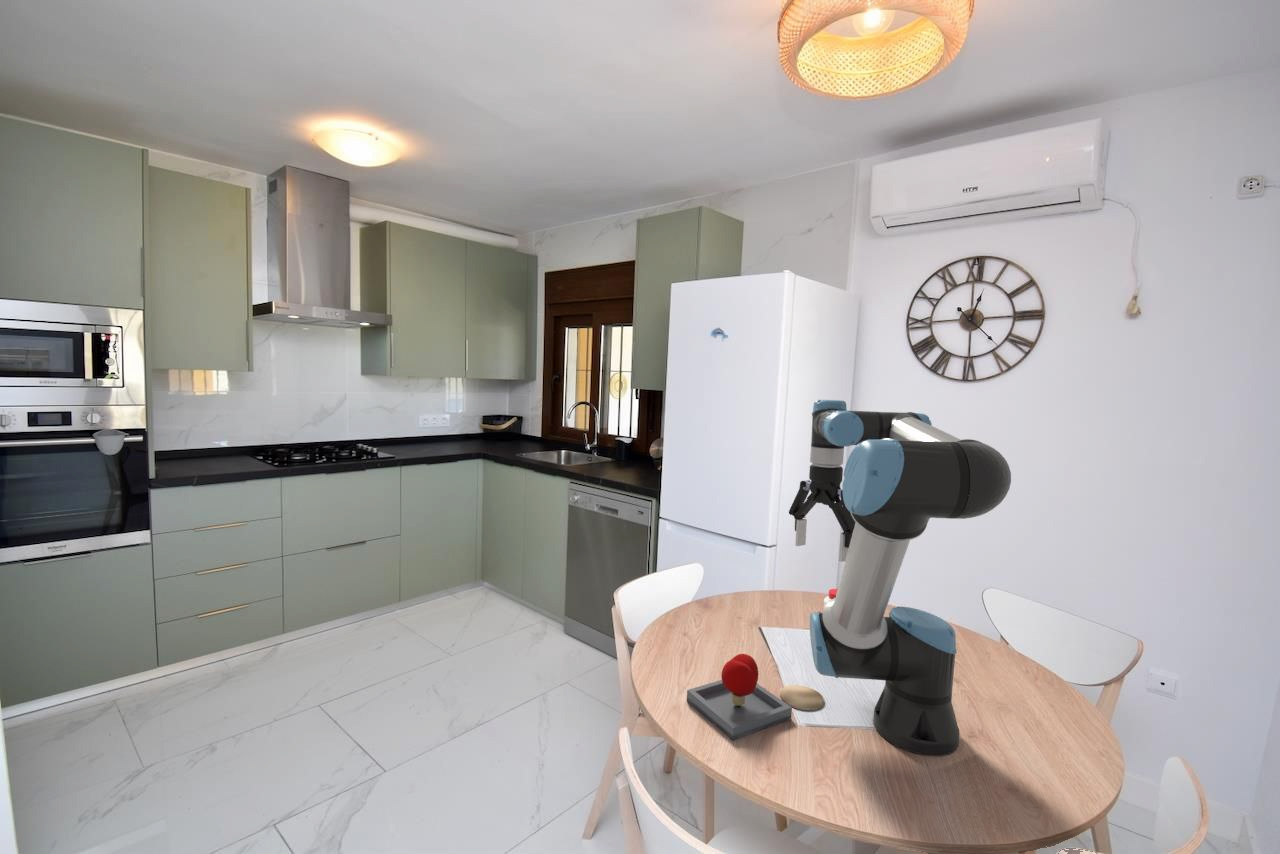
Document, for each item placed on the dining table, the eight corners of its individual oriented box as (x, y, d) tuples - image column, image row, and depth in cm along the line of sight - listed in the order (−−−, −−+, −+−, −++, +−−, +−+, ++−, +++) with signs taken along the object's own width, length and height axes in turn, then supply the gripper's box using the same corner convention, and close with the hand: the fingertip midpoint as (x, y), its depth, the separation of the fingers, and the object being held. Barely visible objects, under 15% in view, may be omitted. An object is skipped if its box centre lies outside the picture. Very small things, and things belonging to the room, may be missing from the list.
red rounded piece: (743, 722, 113) (746, 673, 112) (711, 708, 117) (714, 661, 116) (763, 702, 121) (766, 656, 120) (733, 690, 125) (736, 645, 124)
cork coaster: (832, 703, 122) (832, 701, 122) (802, 714, 118) (802, 712, 118) (801, 683, 130) (801, 681, 130) (771, 693, 126) (771, 691, 126)
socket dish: (791, 718, 116) (791, 707, 116) (732, 740, 109) (733, 728, 109) (742, 683, 129) (742, 673, 129) (686, 701, 122) (687, 690, 121)
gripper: (882, 472, 129) (876, 565, 131) (798, 457, 150) (794, 537, 152) (859, 473, 125) (853, 570, 127) (777, 458, 146) (773, 541, 148)
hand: (821, 552), depth 139 cm, fingers open, 13 cm apart
